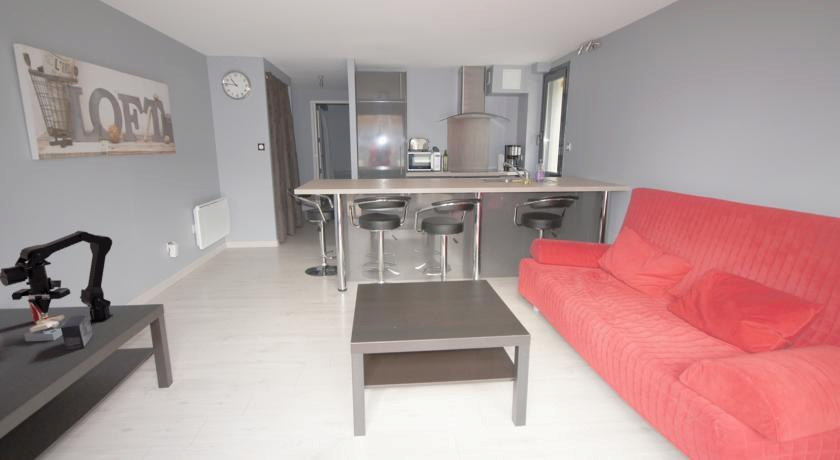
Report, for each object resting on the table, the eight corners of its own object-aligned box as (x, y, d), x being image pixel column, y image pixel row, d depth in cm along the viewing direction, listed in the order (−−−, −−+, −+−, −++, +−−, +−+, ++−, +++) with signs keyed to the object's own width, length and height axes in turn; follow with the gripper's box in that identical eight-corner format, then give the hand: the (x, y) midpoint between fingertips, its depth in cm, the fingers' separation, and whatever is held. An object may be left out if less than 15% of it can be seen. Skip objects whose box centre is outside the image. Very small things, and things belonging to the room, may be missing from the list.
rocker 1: (52, 325, 172) (50, 321, 172) (48, 328, 170) (46, 324, 169) (35, 329, 172) (34, 325, 172) (31, 332, 170) (29, 328, 169)
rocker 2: (58, 325, 176) (58, 321, 176) (54, 327, 174) (54, 324, 173) (40, 322, 175) (41, 318, 175) (36, 324, 173) (36, 321, 172)
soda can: (31, 321, 187) (25, 297, 184) (45, 317, 191) (40, 293, 188) (36, 324, 184) (30, 299, 181) (51, 319, 189) (45, 295, 186)
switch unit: (73, 327, 181) (71, 319, 180) (54, 340, 171) (52, 331, 170) (46, 328, 180) (44, 320, 179) (25, 341, 170) (23, 332, 169)
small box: (75, 338, 172) (70, 315, 169) (94, 336, 174) (89, 313, 172) (64, 351, 162) (59, 327, 160) (84, 348, 165) (79, 324, 162)
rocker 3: (64, 317, 179) (63, 314, 179) (60, 320, 177) (58, 316, 176) (49, 322, 179) (47, 318, 178) (44, 324, 176) (42, 321, 176)
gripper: (76, 270, 175) (83, 304, 178) (30, 271, 173) (38, 305, 177) (55, 279, 164) (63, 315, 167) (6, 280, 162) (15, 316, 166)
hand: (45, 312), depth 170 cm, fingers closed
